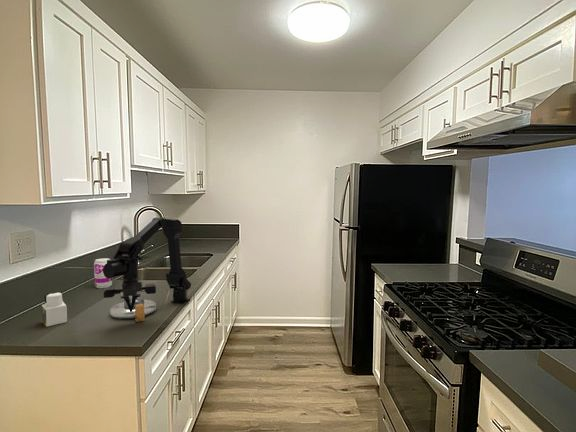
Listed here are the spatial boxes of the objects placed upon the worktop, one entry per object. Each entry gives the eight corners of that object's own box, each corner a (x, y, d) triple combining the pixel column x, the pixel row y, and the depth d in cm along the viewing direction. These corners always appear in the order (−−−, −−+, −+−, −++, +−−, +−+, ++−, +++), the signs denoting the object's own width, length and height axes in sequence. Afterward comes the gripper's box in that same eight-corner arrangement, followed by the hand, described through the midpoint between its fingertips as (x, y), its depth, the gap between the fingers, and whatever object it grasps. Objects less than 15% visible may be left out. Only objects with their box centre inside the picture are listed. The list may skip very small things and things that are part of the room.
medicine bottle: (42, 322, 140) (40, 292, 139) (63, 317, 145) (61, 289, 144) (46, 327, 135) (44, 296, 134) (67, 322, 140) (66, 292, 139)
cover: (127, 303, 154) (126, 295, 154) (146, 302, 156) (145, 295, 155) (121, 310, 146) (121, 301, 146) (141, 309, 148) (141, 300, 147)
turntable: (107, 308, 154) (107, 295, 153) (150, 301, 164) (150, 288, 163) (115, 325, 135) (115, 310, 134) (163, 316, 145) (163, 302, 144)
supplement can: (104, 289, 186) (103, 261, 185) (91, 288, 188) (90, 260, 187) (115, 285, 194) (114, 258, 193) (102, 284, 196) (101, 257, 195)
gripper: (101, 279, 127) (102, 321, 128) (155, 275, 134) (156, 315, 135) (104, 273, 138) (105, 311, 139) (155, 269, 145) (155, 306, 146)
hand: (131, 311), depth 139 cm, fingers closed
